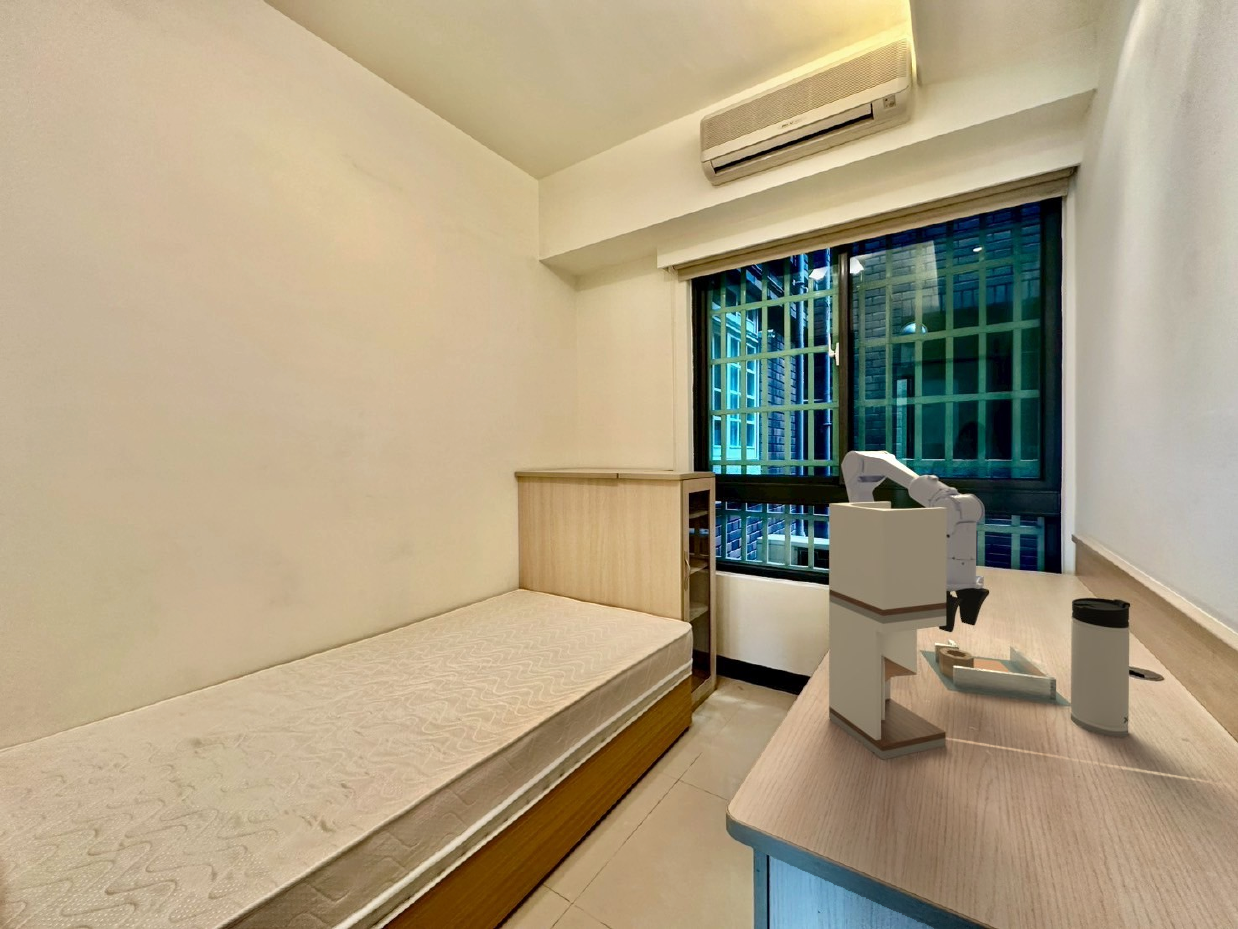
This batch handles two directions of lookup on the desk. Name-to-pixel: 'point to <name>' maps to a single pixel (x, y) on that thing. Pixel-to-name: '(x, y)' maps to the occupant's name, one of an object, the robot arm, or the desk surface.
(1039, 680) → the metal walled tray
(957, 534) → the robot arm
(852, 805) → the desk surface
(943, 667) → the oak ring
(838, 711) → the cream shelf tower
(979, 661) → the pad
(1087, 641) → the travel mug
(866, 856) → the desk surface
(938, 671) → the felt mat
